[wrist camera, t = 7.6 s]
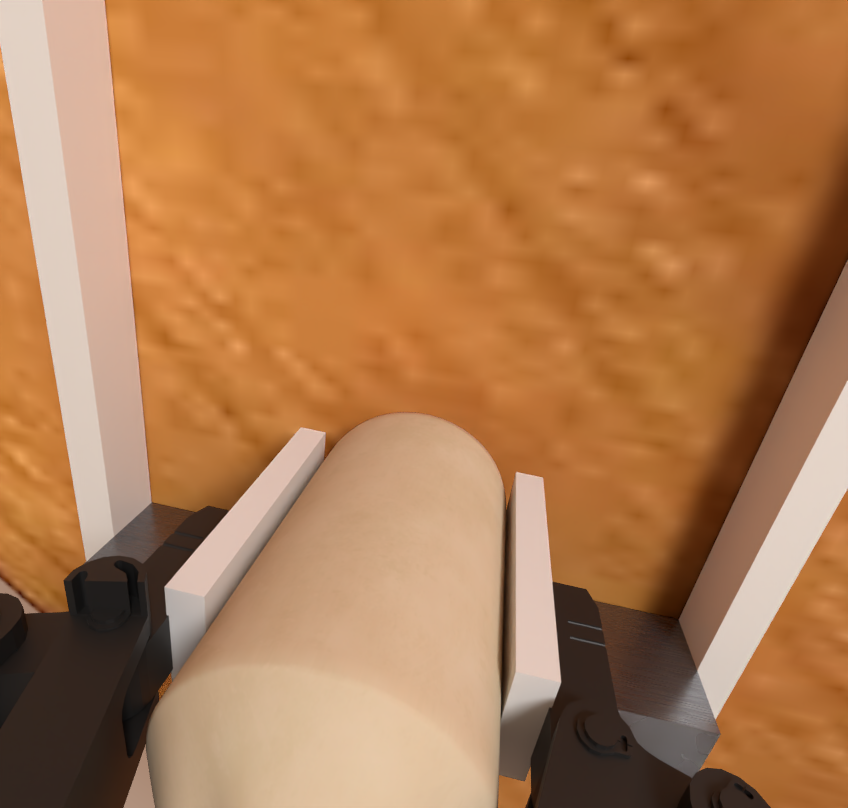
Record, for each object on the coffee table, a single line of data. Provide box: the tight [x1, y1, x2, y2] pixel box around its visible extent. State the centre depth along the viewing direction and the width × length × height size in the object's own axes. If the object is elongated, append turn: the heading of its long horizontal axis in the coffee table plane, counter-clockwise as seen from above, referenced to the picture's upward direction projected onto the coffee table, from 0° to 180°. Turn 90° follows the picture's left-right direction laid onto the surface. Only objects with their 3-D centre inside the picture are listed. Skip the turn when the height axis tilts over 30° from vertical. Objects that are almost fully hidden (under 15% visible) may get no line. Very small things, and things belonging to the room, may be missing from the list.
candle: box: [146, 412, 506, 808], centre depth 11 cm, size 6×6×10 cm
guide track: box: [0, 0, 848, 778], centre depth 13 cm, size 25×21×4 cm
